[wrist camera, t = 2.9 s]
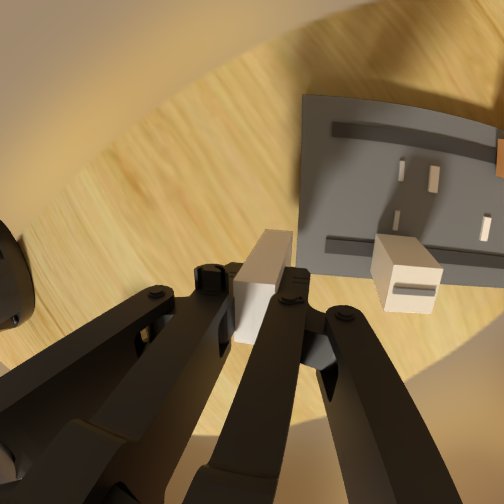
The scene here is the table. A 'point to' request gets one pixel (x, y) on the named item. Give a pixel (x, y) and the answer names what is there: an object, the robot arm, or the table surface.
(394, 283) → the cream fader
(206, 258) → the table surface
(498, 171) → the orange fader
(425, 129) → the console
